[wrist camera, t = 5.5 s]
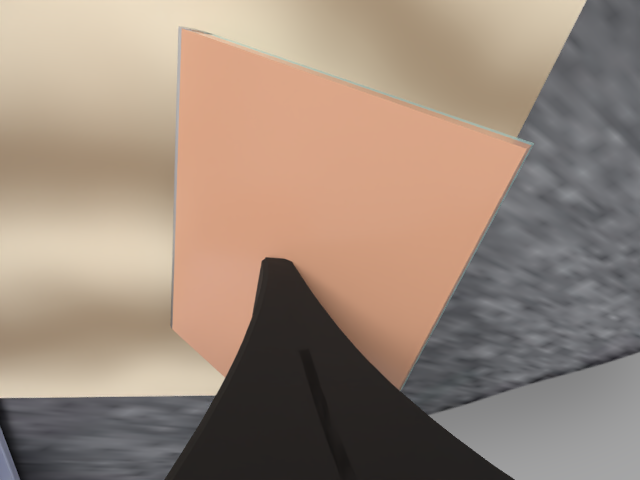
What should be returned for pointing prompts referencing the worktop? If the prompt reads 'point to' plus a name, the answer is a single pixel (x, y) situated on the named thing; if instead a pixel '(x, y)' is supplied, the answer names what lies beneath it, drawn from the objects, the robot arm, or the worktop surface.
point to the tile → (322, 200)
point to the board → (159, 154)
